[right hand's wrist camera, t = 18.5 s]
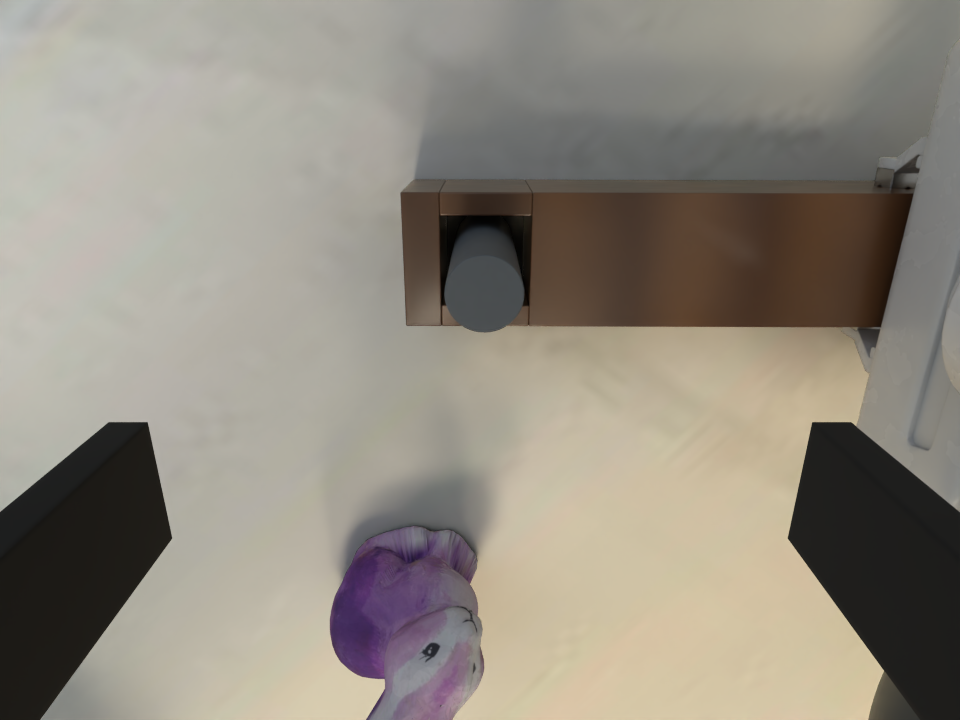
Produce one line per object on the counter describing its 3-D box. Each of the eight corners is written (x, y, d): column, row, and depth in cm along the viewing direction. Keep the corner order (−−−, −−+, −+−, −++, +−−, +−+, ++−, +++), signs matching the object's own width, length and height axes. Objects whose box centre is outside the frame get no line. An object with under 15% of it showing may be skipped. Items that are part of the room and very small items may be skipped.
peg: (511, 266, 37) (523, 332, 26) (456, 266, 37) (445, 333, 26) (512, 210, 36) (525, 255, 25) (455, 210, 36) (443, 254, 25)
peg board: (917, 180, 35) (1000, 193, 29) (889, 295, 37) (960, 327, 32) (413, 179, 35) (400, 192, 30) (417, 294, 38) (406, 326, 32)
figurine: (494, 519, 43) (500, 715, 29) (461, 632, 47) (453, 853, 33) (357, 492, 42) (296, 679, 28) (335, 609, 46) (271, 825, 32)
